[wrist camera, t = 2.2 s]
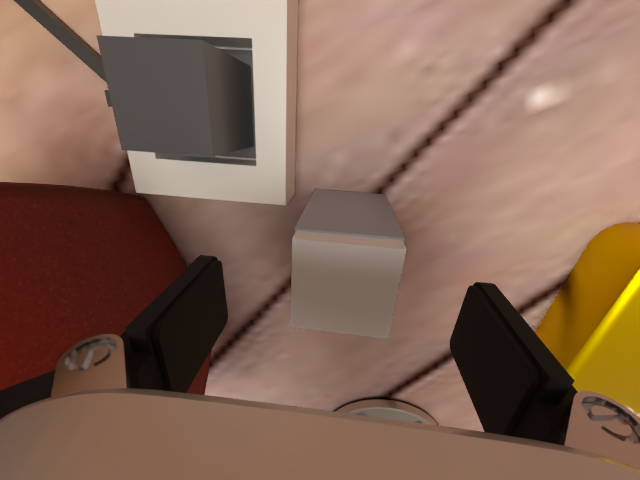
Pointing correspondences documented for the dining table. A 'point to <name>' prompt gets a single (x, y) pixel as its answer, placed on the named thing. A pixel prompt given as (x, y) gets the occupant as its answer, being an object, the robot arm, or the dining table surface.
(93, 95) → the dining table surface
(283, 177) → the power strip
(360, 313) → the plug
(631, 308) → the element tile
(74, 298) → the plant pot
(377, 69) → the dining table surface
